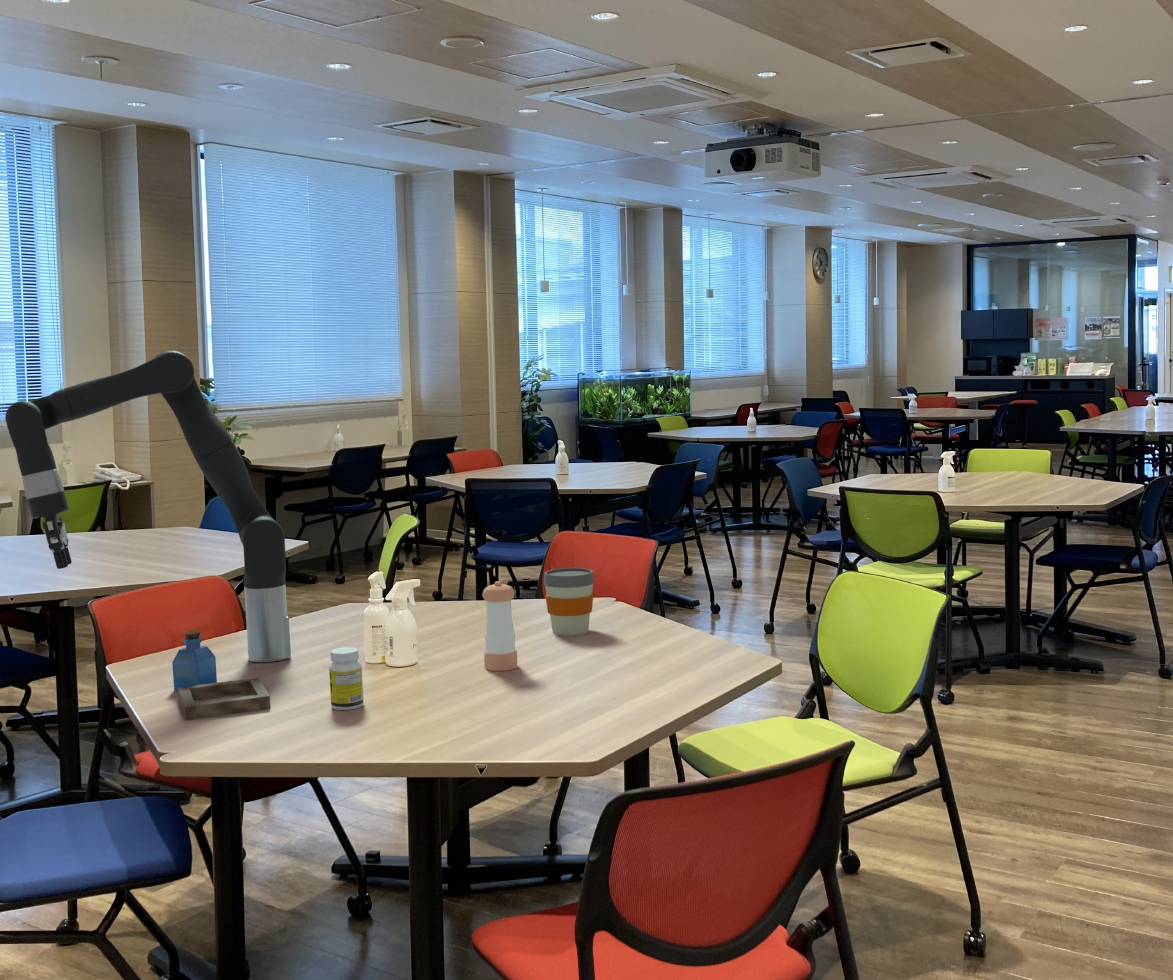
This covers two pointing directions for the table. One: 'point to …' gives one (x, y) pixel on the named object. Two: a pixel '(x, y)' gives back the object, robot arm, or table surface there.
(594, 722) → the table surface
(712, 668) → the table surface
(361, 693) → the supplement bottle
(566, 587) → the reusable coffee cup
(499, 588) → the pepper shaker
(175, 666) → the perfume bottle
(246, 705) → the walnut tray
